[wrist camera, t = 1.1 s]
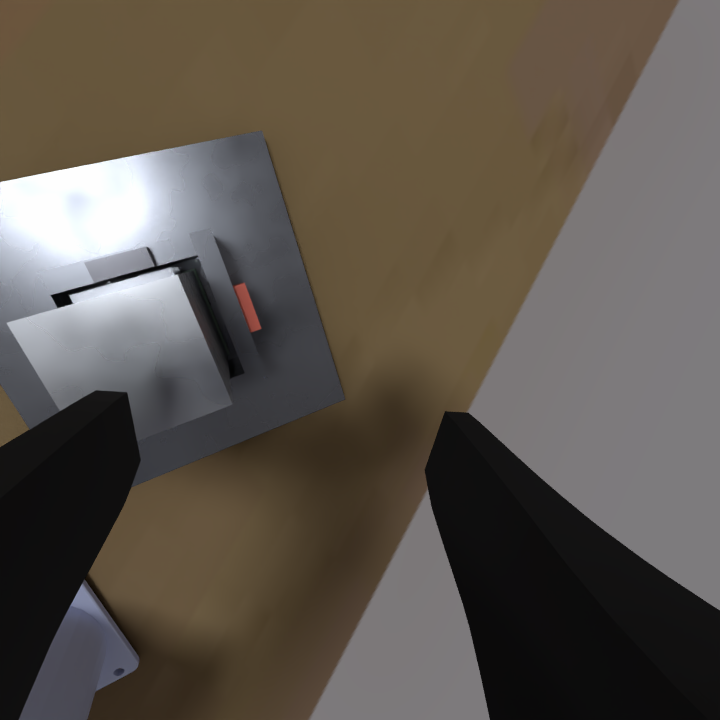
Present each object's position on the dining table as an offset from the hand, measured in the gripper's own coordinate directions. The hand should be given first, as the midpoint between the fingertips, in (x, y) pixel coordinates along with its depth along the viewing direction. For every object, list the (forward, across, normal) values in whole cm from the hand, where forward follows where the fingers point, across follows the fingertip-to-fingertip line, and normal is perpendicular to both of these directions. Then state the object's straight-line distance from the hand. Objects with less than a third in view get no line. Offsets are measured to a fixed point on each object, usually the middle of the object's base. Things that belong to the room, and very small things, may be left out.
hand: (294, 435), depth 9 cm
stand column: (+10, +6, +2) cm, 12 cm away
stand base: (+11, +6, +3) cm, 13 cm away
